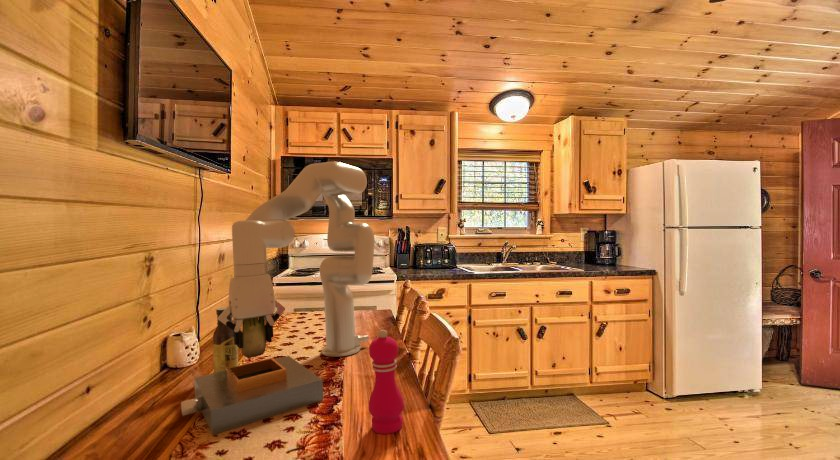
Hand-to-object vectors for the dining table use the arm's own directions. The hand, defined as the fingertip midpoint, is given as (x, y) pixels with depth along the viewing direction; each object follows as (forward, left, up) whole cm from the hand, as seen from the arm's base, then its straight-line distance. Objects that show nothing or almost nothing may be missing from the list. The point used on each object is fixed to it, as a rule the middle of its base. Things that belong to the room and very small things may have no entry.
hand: (254, 343), depth 100 cm
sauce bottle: (+3, -20, -14) cm, 25 cm away
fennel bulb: (0, 0, -3) cm, 3 cm away
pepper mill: (-17, +33, -14) cm, 40 cm away
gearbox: (+2, 0, -14) cm, 14 cm away
